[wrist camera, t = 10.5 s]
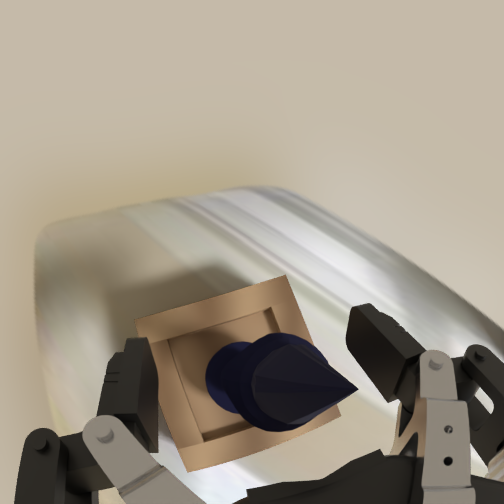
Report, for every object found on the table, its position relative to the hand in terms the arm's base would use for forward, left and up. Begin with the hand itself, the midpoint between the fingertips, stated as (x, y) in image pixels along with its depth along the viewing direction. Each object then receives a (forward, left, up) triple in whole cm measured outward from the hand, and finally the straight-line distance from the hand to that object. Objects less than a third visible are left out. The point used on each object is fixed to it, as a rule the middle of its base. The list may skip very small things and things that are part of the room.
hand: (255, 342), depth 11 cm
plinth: (0, +1, -16) cm, 16 cm away
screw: (0, +2, -11) cm, 11 cm away
